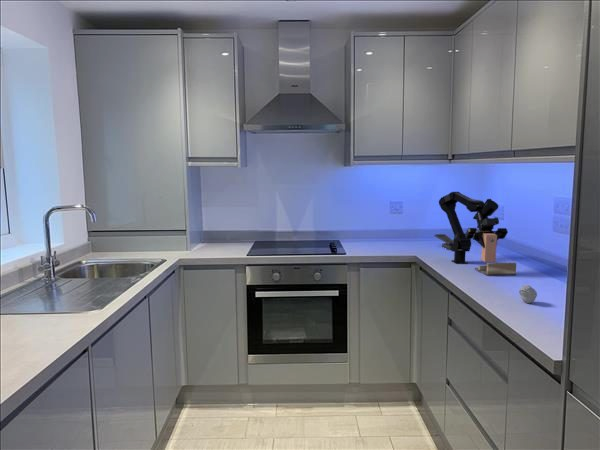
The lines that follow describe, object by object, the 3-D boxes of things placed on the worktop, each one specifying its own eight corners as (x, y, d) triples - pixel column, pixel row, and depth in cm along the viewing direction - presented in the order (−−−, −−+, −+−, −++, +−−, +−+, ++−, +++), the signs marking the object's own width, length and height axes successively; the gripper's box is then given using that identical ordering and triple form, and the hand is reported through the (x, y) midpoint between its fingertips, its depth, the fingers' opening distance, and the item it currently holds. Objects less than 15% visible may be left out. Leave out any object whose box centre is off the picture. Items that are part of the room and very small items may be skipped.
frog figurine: (514, 302, 175) (515, 284, 174) (525, 299, 178) (526, 282, 178) (529, 306, 170) (530, 288, 169) (540, 303, 173) (541, 285, 172)
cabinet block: (481, 259, 222) (482, 233, 220) (491, 259, 222) (493, 233, 220) (485, 262, 216) (487, 235, 214) (496, 262, 216) (497, 235, 214)
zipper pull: (445, 234, 306) (463, 240, 281) (445, 243, 307) (463, 250, 282) (433, 234, 305) (450, 240, 280) (432, 244, 305) (449, 250, 281)
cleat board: (474, 269, 229) (475, 258, 229) (501, 269, 231) (501, 257, 230) (487, 276, 216) (488, 263, 216) (515, 275, 218) (516, 263, 217)
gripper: (468, 211, 220) (475, 237, 211) (507, 211, 220) (515, 238, 210) (462, 225, 229) (468, 251, 220) (500, 225, 228) (507, 251, 219)
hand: (490, 247), depth 217 cm, fingers closed on cabinet block, 5 cm apart
